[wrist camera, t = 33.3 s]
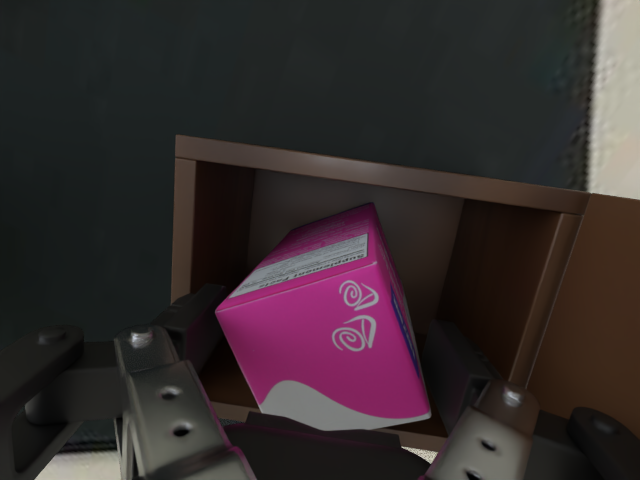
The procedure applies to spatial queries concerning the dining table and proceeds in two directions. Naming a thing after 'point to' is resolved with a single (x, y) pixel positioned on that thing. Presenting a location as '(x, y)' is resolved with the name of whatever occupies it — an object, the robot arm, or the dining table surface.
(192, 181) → the chest
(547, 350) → the lid
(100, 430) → the dining table surface
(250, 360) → the supplement box
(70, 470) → the dining table surface
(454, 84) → the dining table surface
